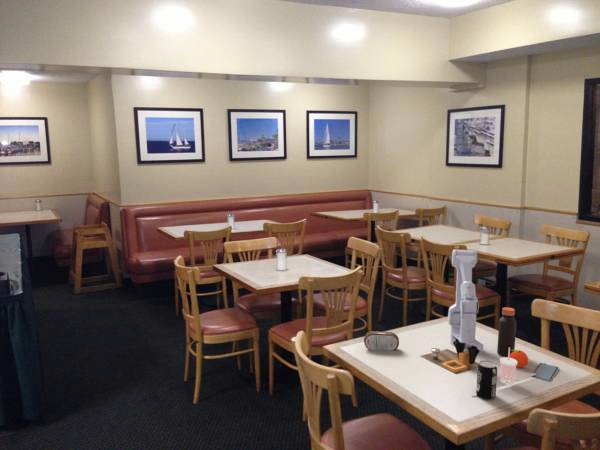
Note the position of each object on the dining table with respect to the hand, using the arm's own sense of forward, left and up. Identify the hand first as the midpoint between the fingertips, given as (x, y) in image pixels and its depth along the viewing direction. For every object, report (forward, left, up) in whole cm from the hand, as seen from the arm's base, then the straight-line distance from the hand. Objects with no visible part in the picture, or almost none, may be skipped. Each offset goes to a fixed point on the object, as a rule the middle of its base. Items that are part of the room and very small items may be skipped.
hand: (466, 361), depth 210 cm
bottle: (-24, 0, -2) cm, 25 cm away
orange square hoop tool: (+4, 0, -1) cm, 4 cm away
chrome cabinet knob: (+6, -10, -1) cm, 12 cm away
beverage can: (+14, +22, -2) cm, 26 cm away
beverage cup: (-2, +19, -2) cm, 19 cm away
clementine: (-18, +11, -2) cm, 21 cm away
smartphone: (-22, +20, -3) cm, 30 cm away
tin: (+20, -29, -2) cm, 35 cm away
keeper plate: (+2, -5, -2) cm, 6 cm away
